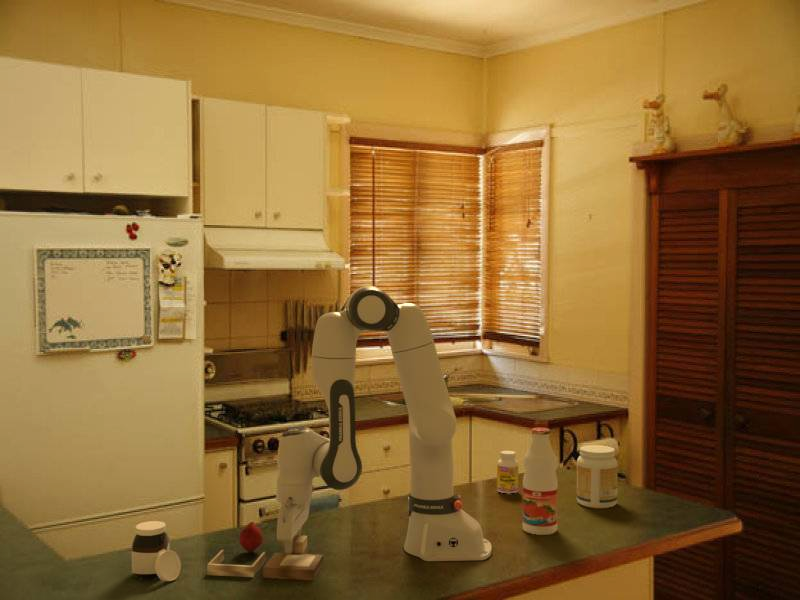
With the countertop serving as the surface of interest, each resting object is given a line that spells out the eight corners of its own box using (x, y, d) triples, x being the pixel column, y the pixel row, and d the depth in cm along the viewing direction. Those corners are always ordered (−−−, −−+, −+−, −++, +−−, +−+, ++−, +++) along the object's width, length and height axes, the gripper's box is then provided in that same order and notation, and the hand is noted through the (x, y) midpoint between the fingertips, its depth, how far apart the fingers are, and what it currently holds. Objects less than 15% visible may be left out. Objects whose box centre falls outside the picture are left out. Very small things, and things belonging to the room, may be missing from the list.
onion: (257, 557, 211) (257, 525, 210) (235, 555, 212) (235, 524, 212) (265, 549, 217) (265, 518, 216) (244, 547, 218) (244, 517, 217)
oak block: (307, 555, 213) (307, 535, 213) (303, 562, 208) (302, 542, 208) (287, 554, 213) (287, 535, 213) (283, 561, 208) (282, 541, 208)
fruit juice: (561, 527, 235) (562, 427, 233) (551, 537, 226) (552, 433, 225) (528, 522, 239) (529, 424, 237) (517, 532, 230) (518, 430, 229)
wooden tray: (323, 565, 206) (323, 554, 206) (313, 580, 196) (313, 569, 196) (221, 559, 209) (221, 549, 209) (207, 574, 199) (207, 563, 199)
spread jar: (142, 566, 205) (141, 518, 204) (188, 566, 205) (188, 519, 204) (124, 585, 193) (123, 535, 192) (173, 586, 193) (173, 535, 192)
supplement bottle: (496, 494, 268) (496, 454, 267) (497, 488, 274) (497, 449, 273) (517, 495, 266) (518, 455, 266) (518, 489, 273) (518, 450, 272)
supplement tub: (616, 499, 262) (617, 445, 261) (617, 510, 250) (618, 454, 250) (576, 496, 265) (577, 443, 264) (575, 507, 253) (576, 452, 252)
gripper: (297, 505, 200) (295, 563, 200) (314, 483, 220) (312, 536, 220) (271, 503, 200) (269, 561, 201) (291, 482, 221) (289, 534, 221)
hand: (292, 548), depth 211 cm, fingers open, 5 cm apart
